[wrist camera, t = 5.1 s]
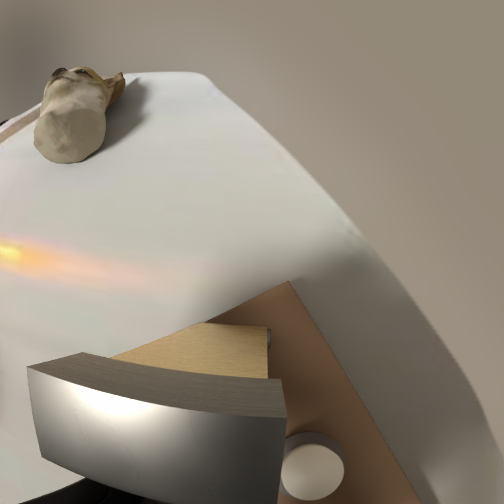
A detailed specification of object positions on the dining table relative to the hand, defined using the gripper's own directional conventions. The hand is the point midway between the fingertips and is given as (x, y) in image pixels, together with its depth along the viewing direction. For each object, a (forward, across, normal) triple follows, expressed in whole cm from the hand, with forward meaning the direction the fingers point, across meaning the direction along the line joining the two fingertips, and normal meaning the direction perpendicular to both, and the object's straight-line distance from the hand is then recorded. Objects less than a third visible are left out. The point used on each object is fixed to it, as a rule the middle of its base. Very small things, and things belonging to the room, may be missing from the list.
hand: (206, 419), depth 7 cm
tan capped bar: (+7, 0, -1) cm, 7 cm away
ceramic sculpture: (+22, -18, +11) cm, 31 cm away
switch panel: (+3, +5, -8) cm, 10 cm away
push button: (+2, +4, -6) cm, 7 cm away
